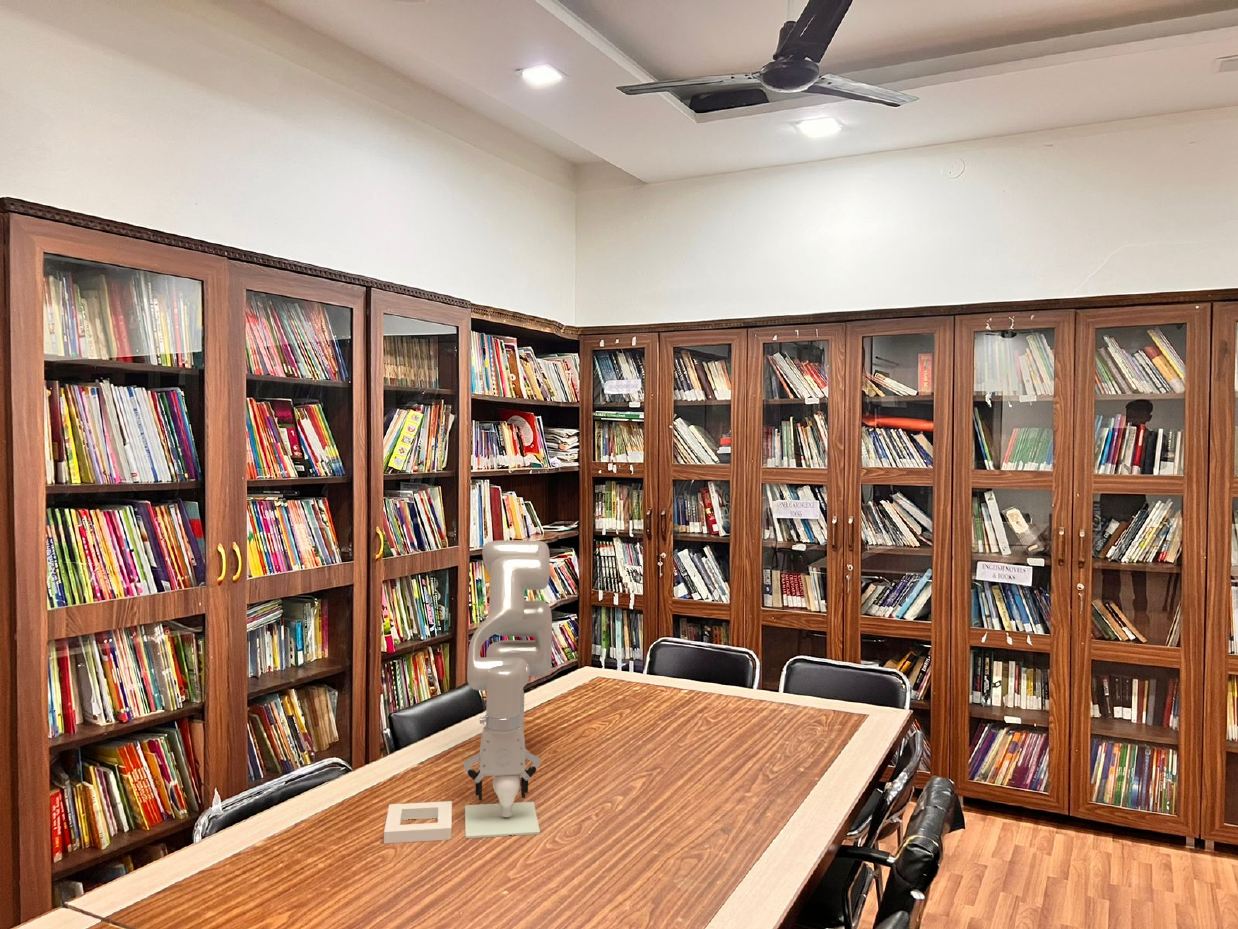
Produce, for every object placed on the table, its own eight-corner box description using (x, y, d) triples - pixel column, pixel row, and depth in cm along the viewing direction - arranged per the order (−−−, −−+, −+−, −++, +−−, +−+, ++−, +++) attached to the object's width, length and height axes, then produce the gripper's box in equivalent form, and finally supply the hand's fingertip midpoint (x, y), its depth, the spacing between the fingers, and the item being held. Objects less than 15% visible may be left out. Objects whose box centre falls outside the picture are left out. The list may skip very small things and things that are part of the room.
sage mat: (465, 807, 201) (465, 805, 201) (533, 803, 204) (533, 801, 204) (465, 838, 186) (465, 836, 186) (539, 834, 188) (539, 831, 188)
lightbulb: (521, 811, 199) (522, 764, 198) (519, 823, 192) (520, 774, 192) (493, 811, 198) (494, 764, 198) (490, 823, 192) (491, 774, 192)
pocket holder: (389, 815, 196) (389, 804, 196) (451, 812, 199) (452, 801, 199) (383, 843, 182) (383, 832, 182) (451, 839, 185) (451, 828, 185)
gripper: (464, 729, 189) (462, 806, 189) (542, 725, 192) (541, 802, 193) (463, 718, 196) (462, 792, 197) (539, 715, 200) (538, 788, 200)
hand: (501, 797), depth 195 cm, fingers open, 9 cm apart
